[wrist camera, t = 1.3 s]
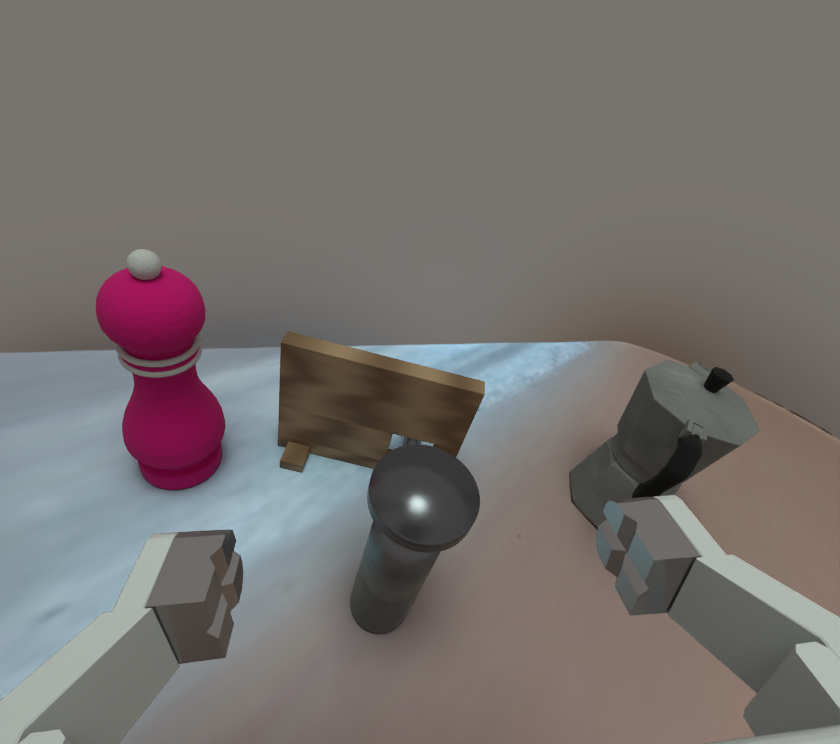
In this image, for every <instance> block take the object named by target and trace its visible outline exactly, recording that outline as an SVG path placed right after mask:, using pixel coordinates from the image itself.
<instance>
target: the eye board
mask: <svg viewBox="0 0 840 744" xmlns="http://www.w3.org/2000/svg"><path fill="white" fill-rule="evenodd" d="M484 392H485V382H484V381H480V380H476V379H472V378H468V377H464V376H460V375H457V374H453V373H449V372H445V371H441V370H437V369H433V368H429V367H425V366H421V365H418V364H414V363H410V362H406V361H402V360H398V359H394V358H390V357H386V356H382V355H378V354H375V353H371V352H367V351H363V350H359V349H355V348H351V347H347V346H343V345H339V344H335V343H332V342H328V341H324V340H320V339H316V338H312V337H308V336H304V335H300V334H297V333H293V332H289V331H288V332H287V334H286V335H285V337H284V339H283V340H282V342H281V359H280V392H279V425H278V446H282V447H286V449H285V451H284V453H283V455H282V458H281V460H280V467H281V468H285V469H289V470H294V471H298V472H302V471H303V468H304V466H305V463H306V460H307V458H308V455H309V453H311V454H315V455H320V456H324V457H328V458H332V459H336V460H340V461H344V462H348V463H353V464H357V465H361V466H365V467H369V468H373V469H374V468H375V466H376V464H377V463H378V462H379V460H380V459H381V458H382V457H383V456H384V455H386V454H387V453H388V452H390V451H392V450H391V449H388V448H389V445H390V441H391V438H392V434H397V435H401V436H405V437H409V438H413V439H417V440H421V441H425V442H429V443H433V444H434V445H433V447H435V448H438V449H441V450H443V451H445V452H447V453H449V454H451V455H452V456H454V457H455V458H456V456H457V454H458V452H459V450H460V447H461V445H462V443H463V441H464V439H465V436H466V434H467V432H468V430H469V427H470V425H471V423H472V421H473V419H474V416H475V414H476V412H477V410H478V408H479V405H480V403H481V401H482V399H483V397H484Z"/></svg>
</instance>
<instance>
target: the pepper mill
mask: <svg viewBox="0 0 840 744" xmlns="http://www.w3.org/2000/svg"><path fill="white" fill-rule="evenodd" d="M96 314H97V319H98V322H99V325H100V327H101V329H102V331H103V332H104V333H105V334H106V335H107V336H108V337H109V338H110V339H111V340H112V341H113V342H115V348H116V351H117V353H118V359H119V361H120V363H121V365H122V366H123V367H124V368H125V369H126V370H128V371H130V372H131V373H132V374H133V377H134V390H133V393H132V396H131V398H130V400H129V402H128V405H127V407H126V410H125V413H124V418H123V423H122V429H123V438H124V443H125V446H126V448H127V450H128V451H129V453H130V454H131V455H132V456H133V457H134V458H135V459H136V460H138V463H139V466H140V470H141V472H142V475H143V476H144V478H145V479H146V480H147V481H148V482H149V483H151V484H152V485H154V486H156V487H159V488H162V489H169V490H179V489H185V488H190V487H192V486H195V485H197V484H199V483H201V482H203V481H205V480H206V479H208V478H209V477H210V476H211V475H212V474H213V473H214V472H215V471H216V469H217V468H218V466H219V464H220V461H221V457H222V450H221V440H222V438H223V435H224V431H225V419H224V415H223V411H222V408H221V406H220V404H219V402H218V401H217V399H216V397H215V396H214V395H213V393H212V392H211V391H210V390H209V389H208V388H207V387H206V386H205V385H204V384H203V383H202V382H201V380H200V379H199V377H198V375H197V371H196V367H195V365H196V362H197V361H198V360H199V358H200V356H201V352H202V348H201V344H200V341H201V340H200V335H199V332H200V331H201V329H202V327H203V324H204V321H205V306H204V302H203V298H202V296H201V294H200V292H199V290H198V289H197V287H196V286H195V284H194V283H193V282H192V281H191V280H190V279H189V278H187V277H186V276H184V275H183V274H181V273H179V272H177V271H175V270H173V269H170V268H166V267H163V266H161V261H160V259H159V258H158V256H157V255H156V254H154V253H153V252H151V251H149V250H143V249H142V250H141V249H139V250H136V251H134V252H132V253H131V254H130V255H129V256H128V258H127V268H126V269H123V270H120V271H119V272H117V273H115V274H113V275H112V276H111V277H109V278H108V279H107V280H106V281H105V282H104V284H103V285H102V287H101V288H100V290H99V293H98V295H97V298H96Z"/></svg>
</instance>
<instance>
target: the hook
mask: <svg viewBox="0 0 840 744" xmlns="http://www.w3.org/2000/svg"><path fill="white" fill-rule="evenodd" d="M367 502H368V508H369V511H370V514H371V516H372V519H373V524H372V527H371V530H370V534H369V537H368V540H367V544H366V547H365V550H364V553H363V557H362V560H361V563H360V567H359V570H358V573H357V577H356V580H355V583H354V586H353V590H352V593H351V598H350V606H351V611H352V614H353V616H354V618H355V620H356V621H357V623H358V624H359V625H360V626H361V627H363V628H364V629H366V630H368V631H370V632H373V633H387V632H390V631H392V630H394V629H396V628H397V627H398V626H399V625H400V624H401V623H402V622H403V620H404V619H405V617H406V615H407V613H408V611H409V609H410V607H411V606H412V604H413V602H414V600H415V598H416V596H417V594H418V593H419V591H420V589H421V587H422V585H423V583H424V581H425V580H426V578H427V576H428V574H429V572H430V570H431V568H432V566H433V565H434V563H435V561H436V559H437V557H438V555H439V553H440V552H441V551H443V550H446V549H449V548H451V547H453V546H455V545H456V544H458V543H459V542H460V541H461V540H462V539H463V538H464V537H465V536H466V535H467V533H468V532H469V530H470V528H471V527H472V525H473V523H474V522H475V520H476V517H477V515H478V511H479V506H480V496H479V491H478V487H477V484H476V482H475V480H474V478H473V476H472V475H471V473H470V472H469V470H468V469H467V468H466V467H465V466H464V465H463V464H462V463H461V462H460V461H459V460H458V459H457V458H455V457H454V456H452V455H451V454H449V453H447V452H445V451H443V450H441V449H438V448H435V447H432V446H427V445H421V440H417V439H413V438H409V437H405V436H404V441H403V446H402V447H399V448H396V449H394V450H392V451H390V452H388V453H387V454H386V455H384V456H383V457H382V458H381V459H380V460H379V462H378V463H377V464H376V466H375V468H374V470H373V472H372V475H371V479H370V483H369V486H368V492H367Z"/></svg>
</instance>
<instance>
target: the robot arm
mask: <svg viewBox="0 0 840 744" xmlns="http://www.w3.org/2000/svg"><path fill="white" fill-rule="evenodd" d="M603 513H604V515H605V516H606V518H607V519H606V520H605V521H604V522H603V523H601V524H600V525H599V526H598V530H597V534H596V544H597V550H598V554H599V557H600V559H601V561H602V563H603V565H604V567H605V569H607V570H608V571H609V572H611V573H612V574H613V575H615V576H616V583H615V588H616V590H617V592H618V594H619V596H620V598H621V600H622V601H623V603H624V605H625V607H626V609H627V611H628V613H629V615H643V614H657V613H668V616H670V617H671V618H672V619H673V620H674V621H675V622H676V623H678V624H679V625H680V626H681V627H682V628H683V629H684V630H686V631H687V632H688V633H689V634H690V635H691V636H692V637H694V638H695V639H696V640H697V641H698V642H699V643H700V644H701V645H703V646H704V647H705V648H706V649H707V650H708V651H709V652H711V653H712V654H713V655H714V656H715V657H716V658H717V659H719V660H720V661H721V662H722V663H723V664H724V665H725V666H727V667H728V668H729V669H730V670H731V671H732V672H733V673H735V674H736V675H737V676H738V677H739V678H740V679H741V680H743V681H744V682H745V683H746V684H747V685H748V686H749V687H751V688H752V689H753V690H754V691H755V692H756V693H757V694H756V695H755V696H754V698H753V699H752V700H751V701H750V703H749V704H748V705H747V706H746V708H745V710H744V715H743V717H744V718H745V720H746V722H747V723H748V725H749V727H750V728H751V730H752V731H753V733H754V735H755V736H754V737H747V738H739V739H732V740H725V741H718V742H711V743H703V744H840V618H839V617H838V616H836V615H834V614H832V613H831V612H829V611H827V610H826V609H824V608H822V607H821V606H819V605H817V604H816V603H814V602H812V601H810V600H809V599H807V598H805V597H804V596H802V595H800V594H799V593H797V592H795V591H794V590H792V589H790V588H788V587H787V586H785V585H783V584H782V583H780V582H778V581H777V580H775V579H773V578H772V577H770V576H768V575H767V574H765V573H763V572H761V571H760V570H758V569H756V568H755V567H753V566H751V565H750V564H748V563H746V562H745V561H743V560H741V559H739V558H738V557H736V556H734V555H726V554H725V553H724V552H723V550H722V549H721V548H720V547H719V545H718V544H717V543H716V542H715V540H714V539H713V538H712V537H711V536H710V534H709V533H708V532H707V531H706V529H705V528H704V527H703V526H702V524H701V523H700V522H699V521H698V520H697V518H696V517H695V516H694V515H693V513H692V512H691V511H690V510H689V508H688V507H687V506H686V505H685V504H684V502H683V501H682V500H681V499H680V498H679V497H677V496H675V495H668V496H655V497H640V498H629V499H617V500H610V501H609V502H608V503H606V505H605V508H604V511H603ZM235 543H236V539H235V536H234V533H233V530H212V531H192V532H177V533H160V534H153V535H152V536H151V537H150V538H149V539H148V540H147V541H146V542H145V544H144V547H143V549H142V551H141V553H140V555H139V557H138V559H137V561H136V563H135V565H134V567H133V569H132V571H131V573H130V575H129V577H128V579H127V581H126V583H125V585H124V588H123V590H122V592H121V594H120V596H119V598H118V600H117V602H116V604H115V606H114V608H113V610H112V611H110V612H103V613H102V614H101V615H100V616H99V617H97V618H96V619H95V620H94V621H93V622H92V623H90V624H89V625H88V626H87V627H86V628H85V629H83V630H82V631H81V632H80V633H79V634H78V635H76V636H75V637H74V638H73V639H72V640H71V641H69V642H68V643H67V644H66V645H65V646H63V647H62V648H61V649H60V650H59V651H58V652H56V653H55V654H54V655H53V656H52V657H51V658H49V659H48V660H47V661H46V662H45V663H44V664H42V665H41V666H40V667H39V668H38V669H37V670H35V671H34V672H33V673H32V674H31V675H30V676H28V677H27V678H26V679H25V680H24V681H23V682H21V683H20V684H19V685H18V686H17V687H16V688H14V689H13V690H12V691H11V692H10V693H9V694H7V695H6V696H5V697H4V698H3V699H2V700H0V744H119V743H120V741H121V740H122V739H123V738H124V736H125V735H126V734H127V733H128V731H129V730H130V729H131V728H132V726H133V725H134V724H135V722H136V721H137V720H138V719H139V717H140V716H141V715H142V714H143V712H144V711H145V710H146V709H147V707H148V706H149V705H150V704H151V702H152V701H153V700H154V698H155V697H156V696H157V695H158V693H159V692H160V691H161V690H162V688H163V687H164V686H165V685H166V683H167V682H168V681H169V679H170V678H171V677H172V676H173V674H174V673H175V672H176V671H177V669H178V668H179V664H182V663H189V662H197V661H204V660H212V659H219V658H225V657H226V653H227V649H228V645H229V641H230V637H231V633H232V629H233V625H234V623H233V620H232V616H231V613H230V611H231V610H232V609H233V608H234V607H235V606H236V605H237V604H238V603H239V600H240V595H241V591H242V582H243V566H242V560H241V556H240V555H239V554H238V553H236V552H235V551H234V547H235Z"/></svg>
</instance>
